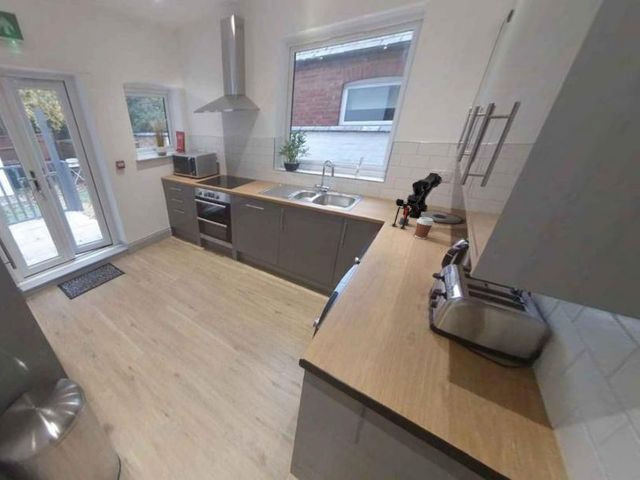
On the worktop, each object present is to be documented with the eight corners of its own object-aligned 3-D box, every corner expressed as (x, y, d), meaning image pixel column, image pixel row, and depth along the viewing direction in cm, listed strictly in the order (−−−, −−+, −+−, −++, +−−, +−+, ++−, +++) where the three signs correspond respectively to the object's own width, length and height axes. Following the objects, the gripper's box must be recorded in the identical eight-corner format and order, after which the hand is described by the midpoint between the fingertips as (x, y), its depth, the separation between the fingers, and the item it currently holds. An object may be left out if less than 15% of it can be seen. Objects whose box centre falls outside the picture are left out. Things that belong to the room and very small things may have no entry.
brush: (400, 221, 181) (405, 205, 175) (408, 223, 177) (414, 207, 172) (397, 224, 177) (402, 207, 172) (405, 226, 174) (410, 209, 168)
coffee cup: (419, 232, 165) (425, 215, 159) (432, 238, 157) (439, 220, 152) (408, 234, 162) (414, 217, 157) (421, 240, 155) (427, 222, 149)
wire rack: (393, 225, 176) (398, 206, 170) (404, 228, 171) (410, 209, 164) (391, 225, 175) (397, 206, 168) (403, 229, 170) (409, 209, 163)
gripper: (400, 187, 176) (389, 206, 174) (431, 193, 163) (420, 213, 162) (402, 196, 184) (391, 213, 182) (431, 202, 171) (420, 221, 170)
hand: (405, 215), depth 174 cm, fingers closed on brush, 2 cm apart
